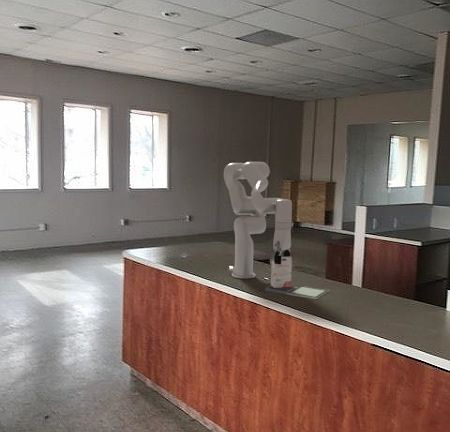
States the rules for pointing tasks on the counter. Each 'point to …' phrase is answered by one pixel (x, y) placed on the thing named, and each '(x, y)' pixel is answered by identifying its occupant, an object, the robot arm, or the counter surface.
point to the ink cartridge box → (281, 273)
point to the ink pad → (280, 289)
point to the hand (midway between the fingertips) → (282, 262)
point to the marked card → (308, 292)
